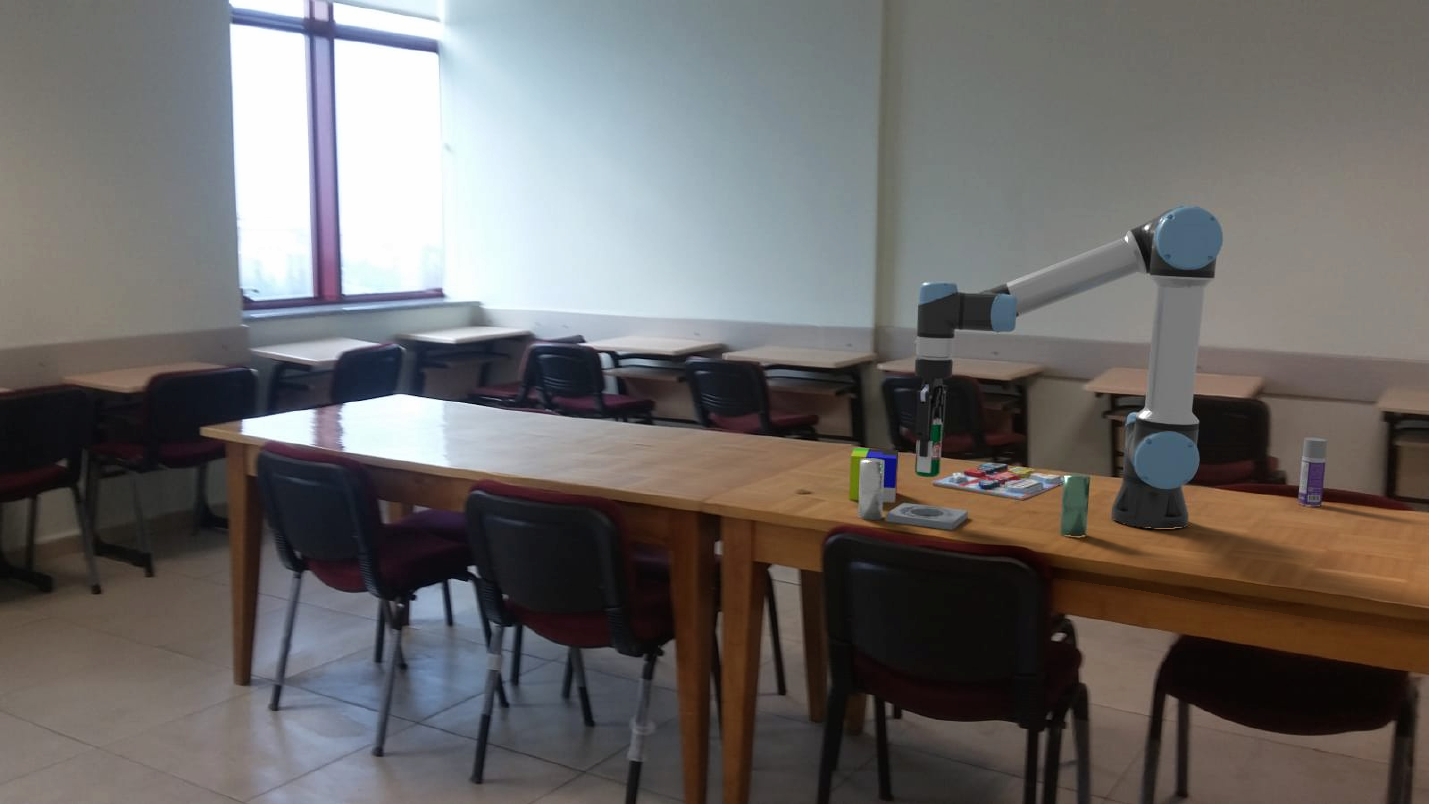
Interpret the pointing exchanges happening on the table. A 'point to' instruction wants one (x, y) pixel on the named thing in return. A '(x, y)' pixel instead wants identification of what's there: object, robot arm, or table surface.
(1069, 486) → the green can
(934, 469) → the soda can
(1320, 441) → the container
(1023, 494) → the puzzle board
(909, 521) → the socket board
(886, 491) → the puzzle toy
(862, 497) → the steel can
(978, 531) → the table surface
